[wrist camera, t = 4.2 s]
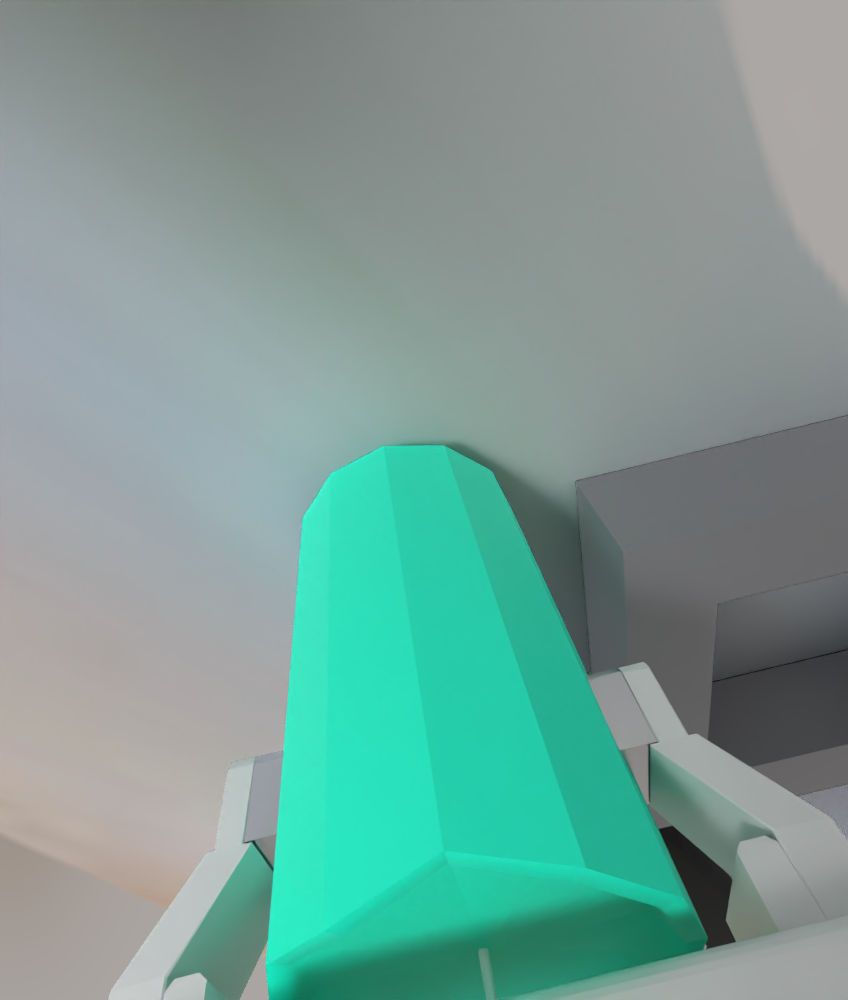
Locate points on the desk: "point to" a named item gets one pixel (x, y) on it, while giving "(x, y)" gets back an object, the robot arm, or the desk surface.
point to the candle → (449, 761)
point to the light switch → (702, 885)
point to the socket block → (725, 589)
